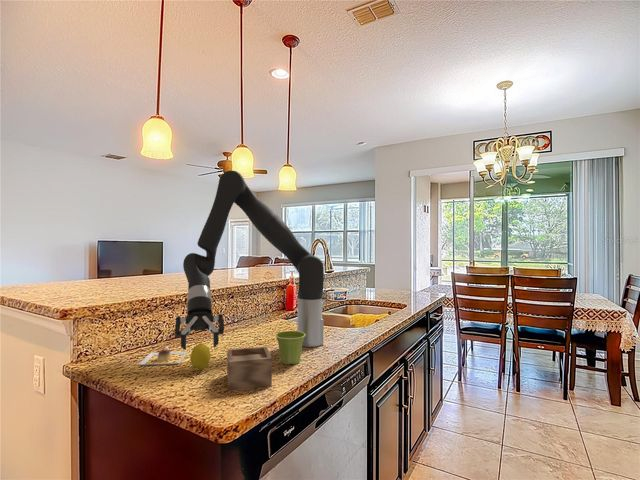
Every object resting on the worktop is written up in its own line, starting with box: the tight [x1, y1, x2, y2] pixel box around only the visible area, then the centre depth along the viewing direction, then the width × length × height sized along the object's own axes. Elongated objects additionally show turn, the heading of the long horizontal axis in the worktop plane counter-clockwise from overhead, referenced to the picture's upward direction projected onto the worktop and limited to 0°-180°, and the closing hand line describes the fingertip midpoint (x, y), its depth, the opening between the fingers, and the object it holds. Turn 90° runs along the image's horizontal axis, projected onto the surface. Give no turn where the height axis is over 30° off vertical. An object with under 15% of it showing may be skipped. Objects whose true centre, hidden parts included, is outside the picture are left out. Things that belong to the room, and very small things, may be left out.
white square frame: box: [137, 345, 188, 367], centre depth 111 cm, size 12×12×5 cm
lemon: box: [190, 342, 211, 372], centre depth 102 cm, size 6×6×8 cm
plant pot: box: [275, 330, 305, 365], centre depth 110 cm, size 9×9×9 cm
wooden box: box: [226, 346, 273, 392], centre depth 95 cm, size 11×11×8 cm
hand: (200, 347), depth 103 cm, fingers open, 8 cm apart
